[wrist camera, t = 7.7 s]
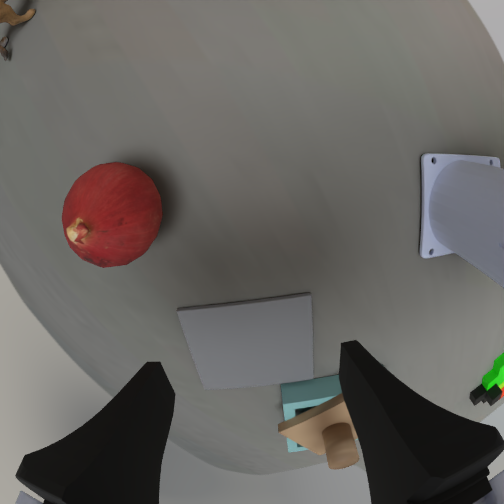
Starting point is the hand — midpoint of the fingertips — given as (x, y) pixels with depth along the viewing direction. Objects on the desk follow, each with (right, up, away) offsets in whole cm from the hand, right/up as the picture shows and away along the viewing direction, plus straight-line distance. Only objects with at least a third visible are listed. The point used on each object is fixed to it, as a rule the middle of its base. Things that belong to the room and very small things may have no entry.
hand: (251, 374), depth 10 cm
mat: (0, -3, +12) cm, 12 cm away
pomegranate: (-8, +8, +8) cm, 14 cm away
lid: (+8, -12, +13) cm, 19 cm away
